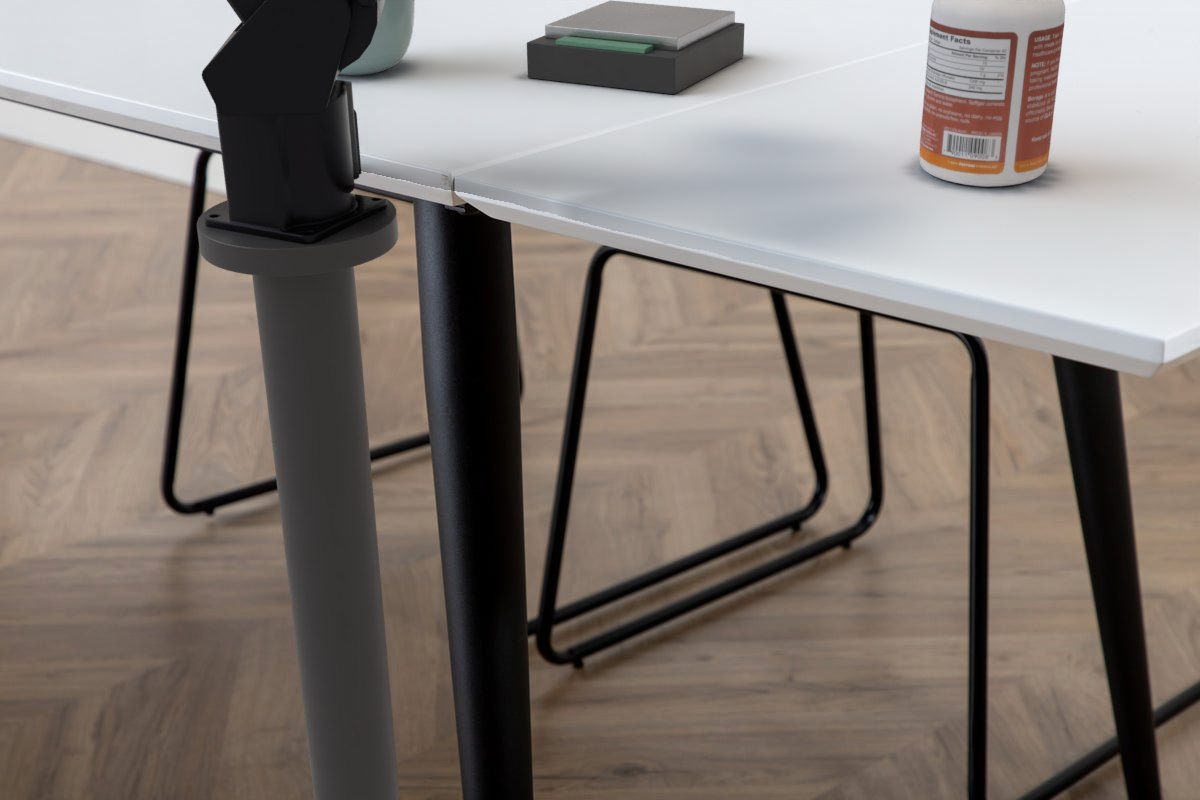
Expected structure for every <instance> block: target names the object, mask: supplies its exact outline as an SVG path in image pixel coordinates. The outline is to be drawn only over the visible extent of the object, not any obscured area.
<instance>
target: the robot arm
mask: <svg viewBox="0 0 1200 800" xmlns="http://www.w3.org/2000/svg"><path fill="white" fill-rule="evenodd" d="M385 1H386V0H226V2H227V4H229V6H230V8H231V9H232V11H234V13H235V15H236V16H237V17H238V19H239V20H240V23H238V25H237V26H236V27H235V29H234V30H233V31H232V32H231V33H230V34H229V36H228V37H227V39H226V40H225V41H224V43H223V44H222V45H221V46H220V47H219V49H218V50H217V51H216V53H215V54H214V56H213V57H212V58H211V59H210V61H208V63H207V64H206V66H205V67H204V68H203V70H202V72H201V79H202V81H203V83H204V85H205V87H206V89H207V91H208V92H209V95H210V97H211V99H212V100H213V103H214V104H215V112H216V120H217V121H216V122H217V128H218V136H219V145H220V153H221V161H222V168H223V169H222V170H223V176H224V177H223V178H224V184H225V193H226V201H227V202H228V206H226V207H223V208H221V209H219V210H216V211H214V212H212V213H209V214H207V215H205V216H204V220H205V226H207V227H211V228H216V229H222V230H227V231H233V232H238V233H244V234H249V235H255V236H260V237H266V238H271V239H277V240H282V241H288V242H293V243H299V244H315V243H317V242H319V241H321V240H323V239H325V238H327V237H329V236H331V235H333V234H335V233H337V232H339V231H341V230H343V229H345V228H347V227H349V226H351V225H353V224H355V223H357V222H359V221H361V220H363V219H365V218H367V217H369V216H371V215H373V214H375V213H377V212H379V211H381V210H383V209H385V208H387V199H388V198H383V197H375V196H369V195H363V194H356V193H352V192H354V189H355V181H356V180H357V179H359V178H360V175H362V173H363V172H362V164H361V162H362V161H361V150H360V138H359V137H360V136H359V127H358V125H359V124H358V114H357V111H356V109H355V106H354V96H353V94H354V93H353V83H352V81H348V80H341V79H338V77H339V75H340V74H339V73H340V72H341V71H342V70H343V69H344V68H346V67H347V66H349V65H350V64H352V63H353V62H355V61H356V60H358V59H359V58H360V57H361V55H362V54H363V53H364V52H365V50H366V49H367V48H368V46H369V45H370V44H371V41H372V39H373V36H374V33H375V30H376V27H377V25H378V22H379V19H380V16H381V13H382V10H383V7H384V4H385Z"/></svg>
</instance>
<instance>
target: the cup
mask: <svg viewBox="0 0 1200 800" xmlns="http://www.w3.org/2000/svg"><path fill="white" fill-rule="evenodd" d="M415 7H416V0H386V1H385V4H384V7H383V10H382V13H381V16H380V19H379V22H378V25H377V27H376V30H375V33H374V36H373V39H372V41H371V44H370V45H369V46H368V48H367V49H366V50H365V52H364V53H363V54H362V55H361V57H360V58H359V59H358V60H356V61H355V62H353V63H352V64H350V65H349V66H347V67H346V68H344V69H343V70H342V71H341V72H340V73H339V74H338V75H342V76H364V75H372V74H377V73H380V72H384V71H387V70H389V69H391V68H393V67H395V66H396V65H397V64H398V63H399V62H401V61H402V60H403V58H404V57H405V56H406V54H407V51H408V49H409V47H410V45H411V41H412V37H413V33H414V32H413V31H414V25H415V14H416V13H415V12H416V8H415Z"/></svg>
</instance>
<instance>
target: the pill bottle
mask: <svg viewBox="0 0 1200 800" xmlns="http://www.w3.org/2000/svg"><path fill="white" fill-rule="evenodd" d="M930 9H931V10H930V20H929V29H928V30H929V31H928V33H929V34H928V44H927V55H926V65H925V77H924V78H925V81H924V91H923V92H924V93H923V102H922V104H923V105H922V106H923V107H922V115H921V125H920V128H921V129H920V138H919V154H918V155H919V156H918V157H919V158H918V159H919V165H920V166H921V167H922V169H923V170H924V171H925V172H927V173H928V174H930V175H931V176H933V177H934V178H937V179H940V180H943V181H947V182H951V183H953V184H959V185H965V186H974V187H985V188H986V187H987V188H988V187H991V188H992V187H993V188H994V187H1007V186H1013V185H1014V186H1015V185H1019V184H1024V183H1027V182H1030V181H1033V180H1035V179H1037V178H1039V177H1040V176H1041V175H1042V174H1044V173H1045V171H1046V169H1047V167H1048V161H1049V157H1050V150H1051V142H1052V141H1051V140H1052V132H1053V131H1052V130H1053V123H1054V116H1055V115H1054V114H1055V105H1056V96H1057V88H1058V82H1059V81H1058V80H1059V73H1060V64H1061V63H1060V62H1061V55H1062V46H1063V38H1064V30H1065V21H1066V20H1065V19H1066V4H1065V1H1064V0H932V4H931V8H930Z"/></svg>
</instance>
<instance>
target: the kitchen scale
mask: <svg viewBox="0 0 1200 800" xmlns="http://www.w3.org/2000/svg"><path fill="white" fill-rule="evenodd" d="M735 21H736V11H734V10H726V9H725V10H723V9H715V8H714V9H712V8H704V7H703V8H702V7H692V6H691V7H690V6H679V5H667V4H656V3H646V2H645V3H644V2H634V1H633V2H632V1H621V0H608V1H604V2H603V3H600V4H597V5H595V6H592V7H590V8H586V9H584V10H582V11H579V12H577V13H574V14H570V15H569V16H566V17H563V18H560V19H558V20H556V21H552V22H550V23H548V24H545V25H544V35H542V36H540V37H536V38H534V39H532V40H530V41H527V42H526V61H527V63H526V64H527V65H526V66H527V77H528V78H530V79H537V80H545V81H555V82H565V83H571V84H572V83H573V84H580V85H589V86H598V87H608V88H615V89H623V90H624V89H625V90H632V91H641V92H651V93H659V94H666V95H676V94H677V93H679V92H681V91H683V90H684V89H686V88H688V87H690V86H692V85H694V84H696V83H697V82H699V81H702V80H703V79H705V78H707V77H709V76H710V75H713V74H714V73H717V72H718V71H720V70H722V69H723V68H726V67H727V66H729V65H731V64H733V63H735V62H736V61H738V60H740V59H742V58H743V57H744V53H745V51H744V49H745V22H735Z"/></svg>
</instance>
